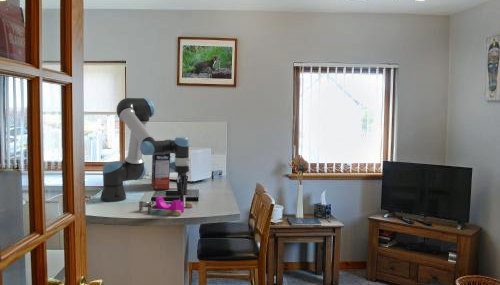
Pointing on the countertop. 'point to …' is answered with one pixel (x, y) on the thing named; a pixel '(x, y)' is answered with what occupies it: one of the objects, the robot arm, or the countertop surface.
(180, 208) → the toy block
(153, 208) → the rack bay
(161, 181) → the cereal box
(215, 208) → the countertop surface
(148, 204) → the winch drum
